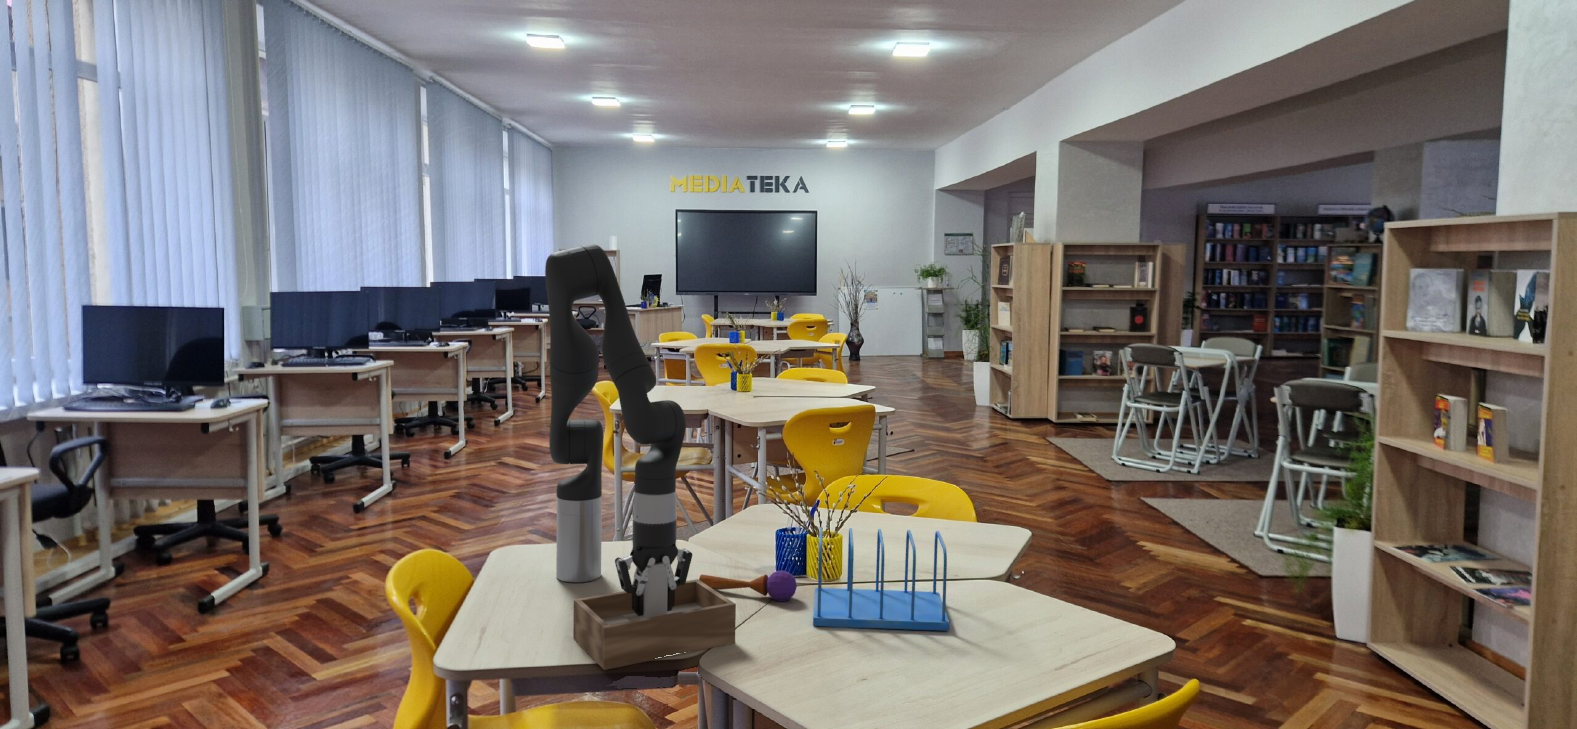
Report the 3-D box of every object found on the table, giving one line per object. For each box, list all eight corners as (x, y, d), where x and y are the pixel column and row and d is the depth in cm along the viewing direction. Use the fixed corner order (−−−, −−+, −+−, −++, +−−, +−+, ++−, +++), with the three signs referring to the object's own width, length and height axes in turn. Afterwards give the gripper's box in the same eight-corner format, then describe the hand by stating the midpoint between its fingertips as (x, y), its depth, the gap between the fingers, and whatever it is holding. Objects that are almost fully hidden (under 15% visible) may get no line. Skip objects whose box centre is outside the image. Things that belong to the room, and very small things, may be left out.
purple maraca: (707, 566, 194) (799, 569, 188) (706, 595, 193) (799, 599, 188) (696, 569, 188) (791, 572, 183) (695, 599, 188) (791, 603, 182)
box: (573, 638, 164) (573, 599, 163) (697, 615, 176) (697, 579, 175) (604, 670, 151) (604, 628, 150) (734, 642, 163) (735, 604, 163)
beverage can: (670, 624, 165) (671, 558, 164) (661, 634, 160) (662, 566, 159) (644, 621, 166) (645, 555, 165) (635, 631, 161) (635, 563, 160)
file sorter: (938, 601, 188) (942, 526, 187) (949, 633, 171) (953, 551, 169) (814, 595, 189) (816, 521, 188) (812, 627, 172) (815, 546, 171)
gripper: (623, 526, 154) (622, 626, 156) (701, 516, 162) (700, 612, 163) (607, 515, 161) (606, 612, 162) (683, 507, 168) (681, 599, 170)
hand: (653, 611), depth 163 cm, fingers closed on beverage can, 4 cm apart
